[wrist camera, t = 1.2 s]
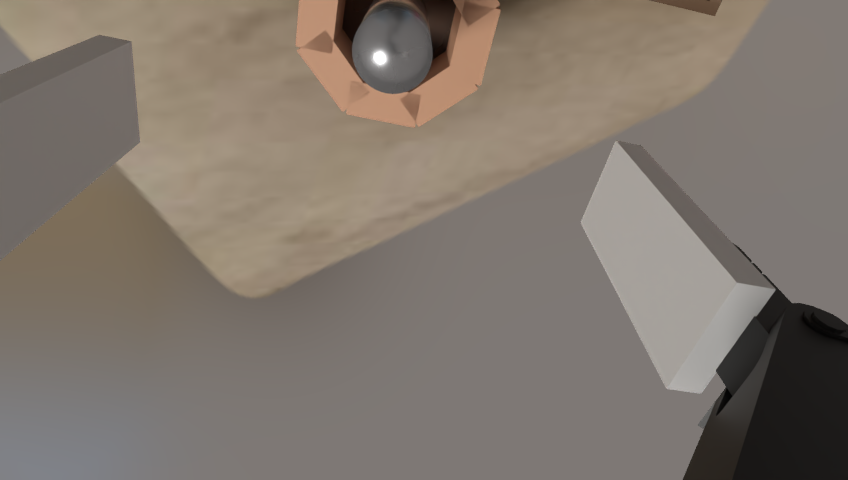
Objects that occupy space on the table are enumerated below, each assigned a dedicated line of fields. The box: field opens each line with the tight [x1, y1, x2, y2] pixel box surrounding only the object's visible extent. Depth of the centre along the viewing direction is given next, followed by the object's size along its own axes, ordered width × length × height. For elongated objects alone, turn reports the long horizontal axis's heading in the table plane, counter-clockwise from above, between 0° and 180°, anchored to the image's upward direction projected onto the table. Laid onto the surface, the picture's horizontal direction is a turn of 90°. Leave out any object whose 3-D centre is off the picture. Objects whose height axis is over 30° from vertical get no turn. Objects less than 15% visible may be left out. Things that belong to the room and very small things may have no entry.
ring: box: [296, 0, 501, 128], centre depth 26 cm, size 9×9×4 cm
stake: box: [342, 0, 456, 94], centre depth 26 cm, size 8×8×16 cm
